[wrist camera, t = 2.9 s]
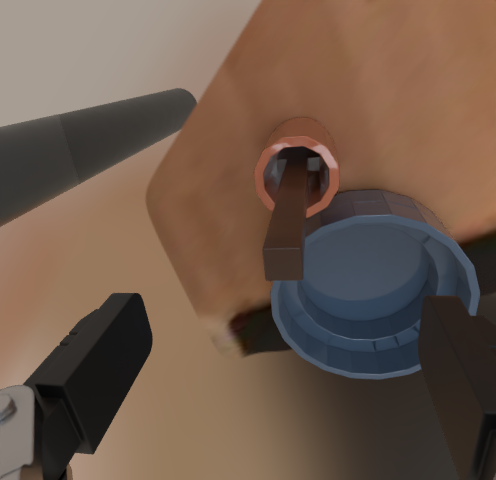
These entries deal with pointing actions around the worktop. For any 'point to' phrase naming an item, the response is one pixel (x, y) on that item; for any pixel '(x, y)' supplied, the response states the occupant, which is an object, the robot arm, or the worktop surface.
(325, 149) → the utensil holder
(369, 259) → the bowl
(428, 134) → the worktop surface
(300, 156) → the stirring stick
